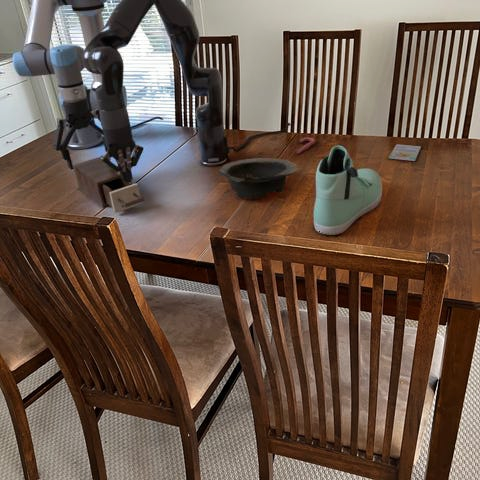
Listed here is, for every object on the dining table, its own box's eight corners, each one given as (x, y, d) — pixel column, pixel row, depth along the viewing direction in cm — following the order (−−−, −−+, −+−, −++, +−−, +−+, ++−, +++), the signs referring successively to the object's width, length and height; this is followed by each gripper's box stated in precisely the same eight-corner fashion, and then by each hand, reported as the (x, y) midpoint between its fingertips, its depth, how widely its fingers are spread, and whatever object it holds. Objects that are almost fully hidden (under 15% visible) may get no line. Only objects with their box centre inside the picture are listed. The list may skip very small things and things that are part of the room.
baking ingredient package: (388, 157, 167) (396, 143, 178) (388, 158, 167) (396, 144, 179) (414, 160, 163) (421, 145, 175) (414, 161, 164) (421, 147, 175)
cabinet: (131, 197, 156) (126, 173, 151) (102, 207, 151) (96, 182, 146) (106, 179, 170) (101, 156, 166) (79, 188, 165) (72, 164, 161)
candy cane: (285, 152, 180) (284, 148, 179) (304, 139, 190) (304, 135, 189) (299, 154, 177) (299, 151, 176) (318, 141, 187) (318, 137, 186)
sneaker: (389, 187, 148) (396, 123, 138) (356, 242, 123) (361, 168, 112) (346, 181, 154) (350, 119, 144) (306, 232, 129) (307, 161, 118)
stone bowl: (243, 213, 140) (240, 183, 136) (209, 189, 160) (205, 162, 156) (313, 190, 149) (312, 161, 144) (272, 170, 169) (270, 144, 165)
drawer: (150, 210, 145) (146, 190, 142) (123, 220, 141) (119, 199, 137) (115, 185, 163) (111, 167, 159) (90, 193, 158) (86, 175, 155)
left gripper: (38, 111, 141) (58, 176, 152) (116, 92, 153) (129, 154, 165) (30, 106, 146) (50, 170, 158) (106, 88, 158) (119, 148, 170)
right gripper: (98, 132, 124) (112, 193, 133) (143, 120, 131) (154, 178, 140) (87, 126, 129) (101, 185, 138) (131, 115, 136) (142, 171, 145)
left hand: (90, 162), depth 161 cm, fingers open, 13 cm apart
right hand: (127, 181), depth 139 cm, fingers closed
